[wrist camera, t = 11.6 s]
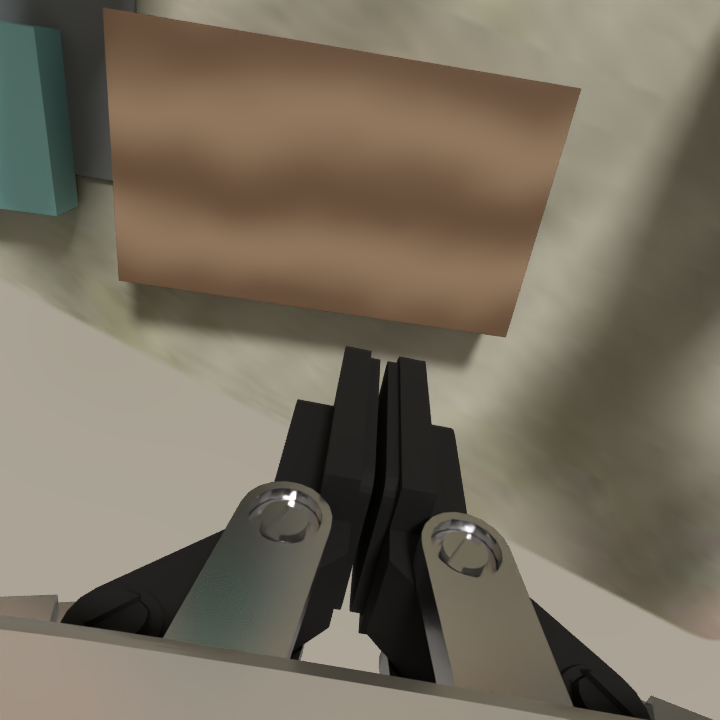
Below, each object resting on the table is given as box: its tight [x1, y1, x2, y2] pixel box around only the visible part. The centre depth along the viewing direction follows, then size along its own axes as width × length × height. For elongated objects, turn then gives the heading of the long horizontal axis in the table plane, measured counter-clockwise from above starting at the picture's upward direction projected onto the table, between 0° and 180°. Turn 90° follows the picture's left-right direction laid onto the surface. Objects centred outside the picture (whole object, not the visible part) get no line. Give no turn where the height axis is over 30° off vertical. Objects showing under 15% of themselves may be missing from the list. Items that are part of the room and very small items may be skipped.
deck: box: [103, 8, 581, 337], centre depth 30 cm, size 13×22×4 cm, turn 82°
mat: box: [0, 0, 136, 181], centre depth 30 cm, size 10×12×1 cm
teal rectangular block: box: [0, 21, 78, 216], centre depth 29 cm, size 9×6×2 cm, turn 172°
